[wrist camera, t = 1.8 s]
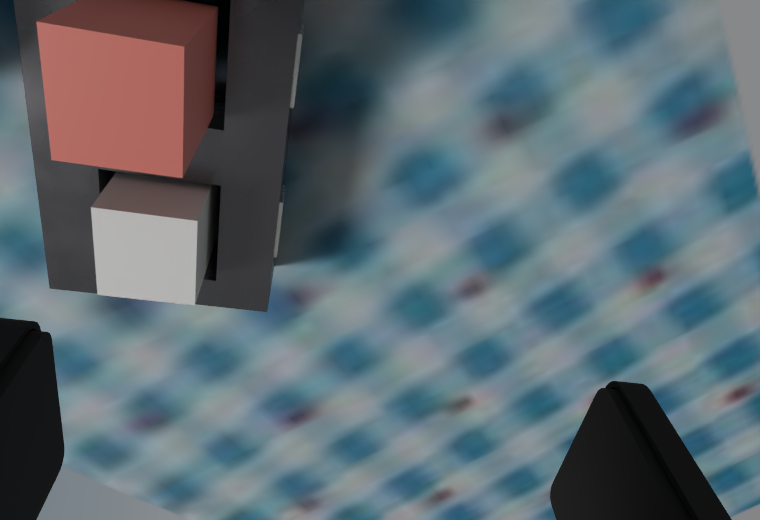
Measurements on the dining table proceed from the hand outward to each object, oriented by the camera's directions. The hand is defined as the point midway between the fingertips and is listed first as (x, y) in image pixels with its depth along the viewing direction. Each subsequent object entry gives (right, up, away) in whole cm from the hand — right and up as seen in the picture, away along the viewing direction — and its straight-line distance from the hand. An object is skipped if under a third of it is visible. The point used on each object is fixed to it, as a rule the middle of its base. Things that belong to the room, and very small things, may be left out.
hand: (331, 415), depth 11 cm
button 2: (-7, +11, +13) cm, 18 cm away
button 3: (-9, +6, +19) cm, 22 cm away
